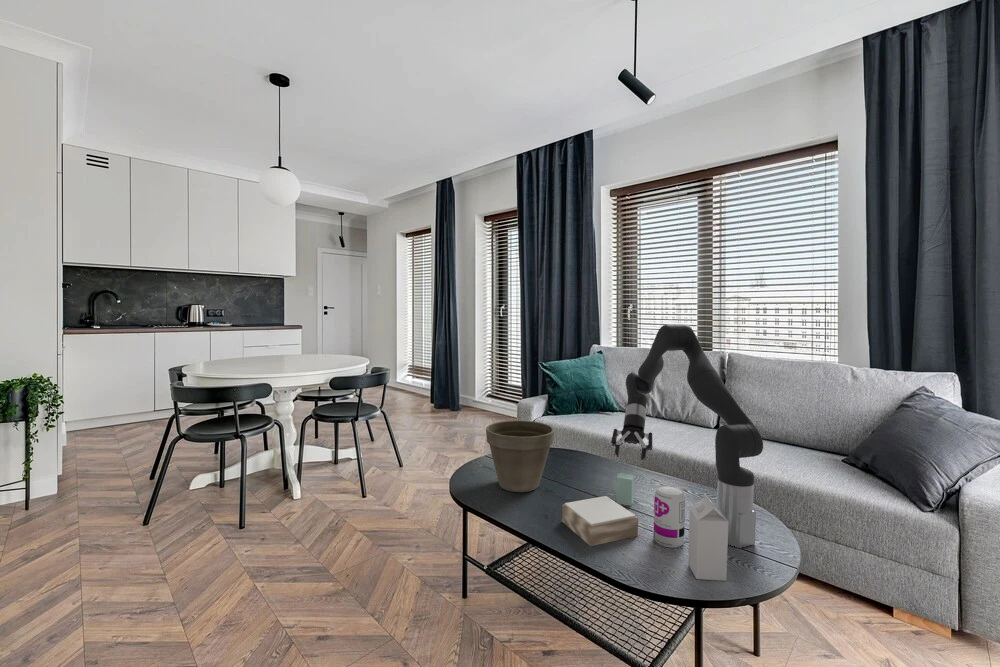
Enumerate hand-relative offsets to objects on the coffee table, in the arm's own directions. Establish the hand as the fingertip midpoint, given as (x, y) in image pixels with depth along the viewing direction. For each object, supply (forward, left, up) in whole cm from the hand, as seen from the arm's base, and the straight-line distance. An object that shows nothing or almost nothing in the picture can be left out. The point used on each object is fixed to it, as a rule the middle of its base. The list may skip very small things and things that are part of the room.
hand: (629, 457), depth 171 cm
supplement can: (-33, +11, -13) cm, 38 cm away
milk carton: (-49, +13, -13) cm, 53 cm away
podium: (-19, +25, -13) cm, 34 cm away
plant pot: (+21, +33, -13) cm, 41 cm away
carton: (-6, +6, -13) cm, 16 cm away
